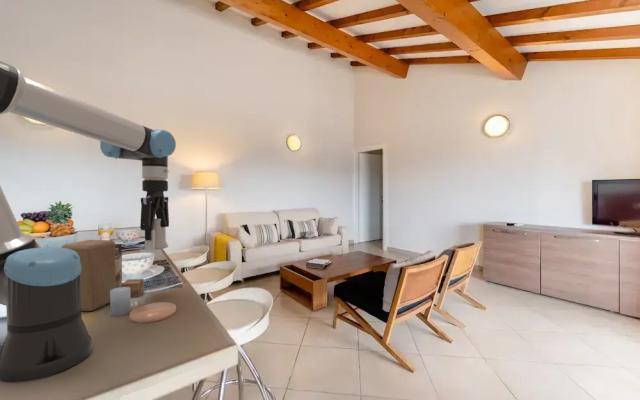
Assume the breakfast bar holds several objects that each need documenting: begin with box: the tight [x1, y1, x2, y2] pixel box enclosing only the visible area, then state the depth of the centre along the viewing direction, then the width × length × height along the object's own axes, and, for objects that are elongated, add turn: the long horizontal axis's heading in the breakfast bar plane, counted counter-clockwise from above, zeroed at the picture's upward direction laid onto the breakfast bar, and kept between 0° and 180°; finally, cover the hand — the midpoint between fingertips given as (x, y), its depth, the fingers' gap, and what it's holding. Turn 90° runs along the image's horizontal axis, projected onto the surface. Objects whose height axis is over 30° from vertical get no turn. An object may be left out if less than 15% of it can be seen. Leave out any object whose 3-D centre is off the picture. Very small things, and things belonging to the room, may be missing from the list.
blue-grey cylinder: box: [109, 286, 132, 317], centre depth 89 cm, size 5×5×7 cm
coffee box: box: [115, 243, 123, 288], centre depth 109 cm, size 9×6×16 cm
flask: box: [142, 218, 169, 251], centre depth 101 cm, size 7×7×10 cm
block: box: [60, 239, 116, 312], centre depth 94 cm, size 10×10×20 cm
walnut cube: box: [121, 278, 145, 299], centre depth 104 cm, size 5×5×5 cm
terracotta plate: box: [128, 301, 177, 324], centre depth 88 cm, size 12×12×1 cm
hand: (155, 247), depth 101 cm, fingers closed on flask, 7 cm apart
